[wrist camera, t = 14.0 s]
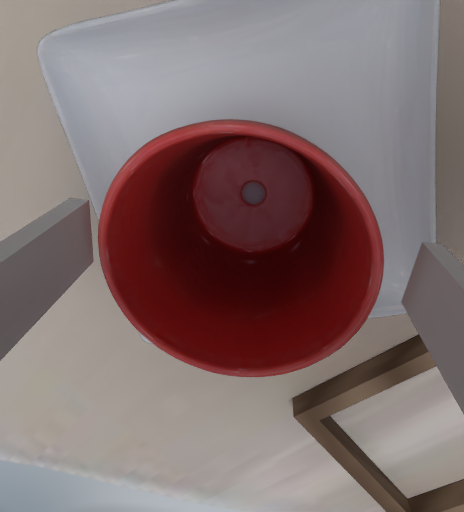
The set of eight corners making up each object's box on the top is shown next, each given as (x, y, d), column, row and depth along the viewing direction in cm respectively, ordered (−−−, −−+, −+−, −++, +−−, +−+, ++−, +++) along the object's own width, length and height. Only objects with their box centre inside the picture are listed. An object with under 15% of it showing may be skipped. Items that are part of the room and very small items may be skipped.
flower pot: (284, 49, 19) (282, 41, 11) (378, 222, 23) (433, 322, 14) (131, 161, 23) (37, 222, 14) (232, 295, 26) (205, 409, 18)
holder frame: (511, 288, 27) (528, 303, 25) (605, 442, 33) (624, 464, 31) (292, 398, 34) (293, 416, 32) (401, 511, 39) (407, 533, 37)
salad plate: (418, -60, 20) (446, -84, 17) (420, 288, 29) (438, 314, 26) (55, 40, 23) (22, 35, 20) (155, 321, 32) (143, 348, 29)
